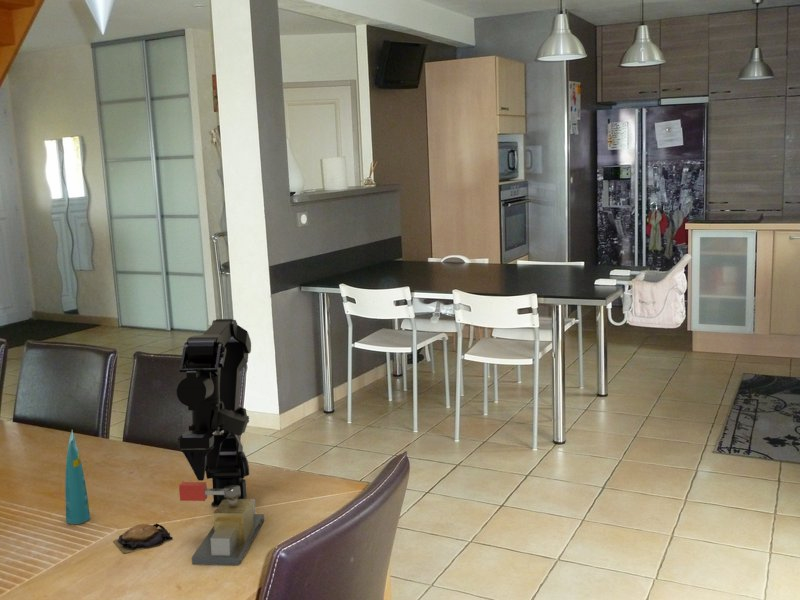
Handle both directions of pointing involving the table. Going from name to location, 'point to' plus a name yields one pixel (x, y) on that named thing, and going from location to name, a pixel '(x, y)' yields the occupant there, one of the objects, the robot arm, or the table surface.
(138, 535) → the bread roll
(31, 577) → the table surface
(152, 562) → the table surface
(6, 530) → the table surface
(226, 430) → the robot arm
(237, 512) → the valve stand
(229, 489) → the valve lever
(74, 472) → the tube
